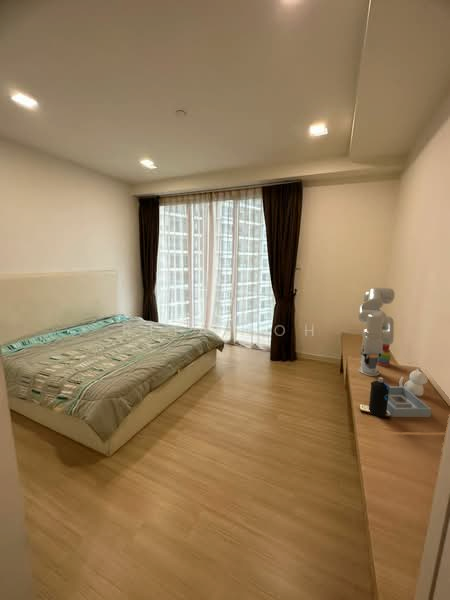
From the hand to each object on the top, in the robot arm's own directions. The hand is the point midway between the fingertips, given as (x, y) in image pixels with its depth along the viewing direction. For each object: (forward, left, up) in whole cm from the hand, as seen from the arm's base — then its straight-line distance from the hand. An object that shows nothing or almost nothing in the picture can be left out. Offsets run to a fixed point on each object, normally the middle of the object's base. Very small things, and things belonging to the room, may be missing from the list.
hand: (370, 363), depth 140 cm
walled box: (+15, +8, -17) cm, 24 cm away
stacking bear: (-34, +28, -18) cm, 47 cm away
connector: (0, 0, -2) cm, 2 cm away
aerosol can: (+21, -7, -17) cm, 29 cm away
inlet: (+15, +8, -16) cm, 24 cm away
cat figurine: (+4, +23, -17) cm, 29 cm away
